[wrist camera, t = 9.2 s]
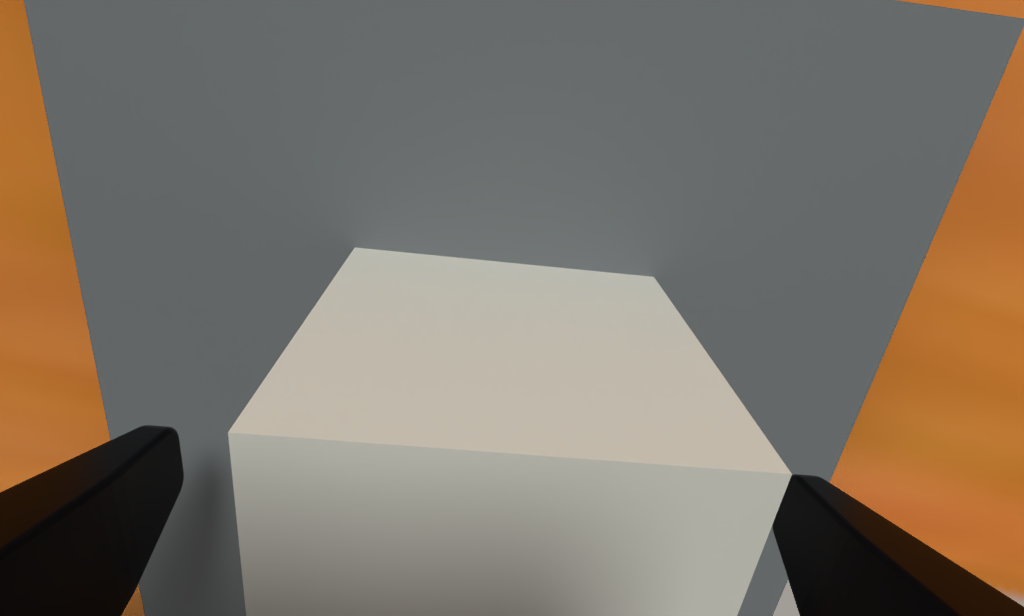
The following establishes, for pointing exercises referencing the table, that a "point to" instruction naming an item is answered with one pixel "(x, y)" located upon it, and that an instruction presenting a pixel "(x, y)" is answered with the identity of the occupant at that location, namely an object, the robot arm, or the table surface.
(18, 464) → the table surface
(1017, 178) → the table surface
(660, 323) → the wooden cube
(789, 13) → the rubber mat
